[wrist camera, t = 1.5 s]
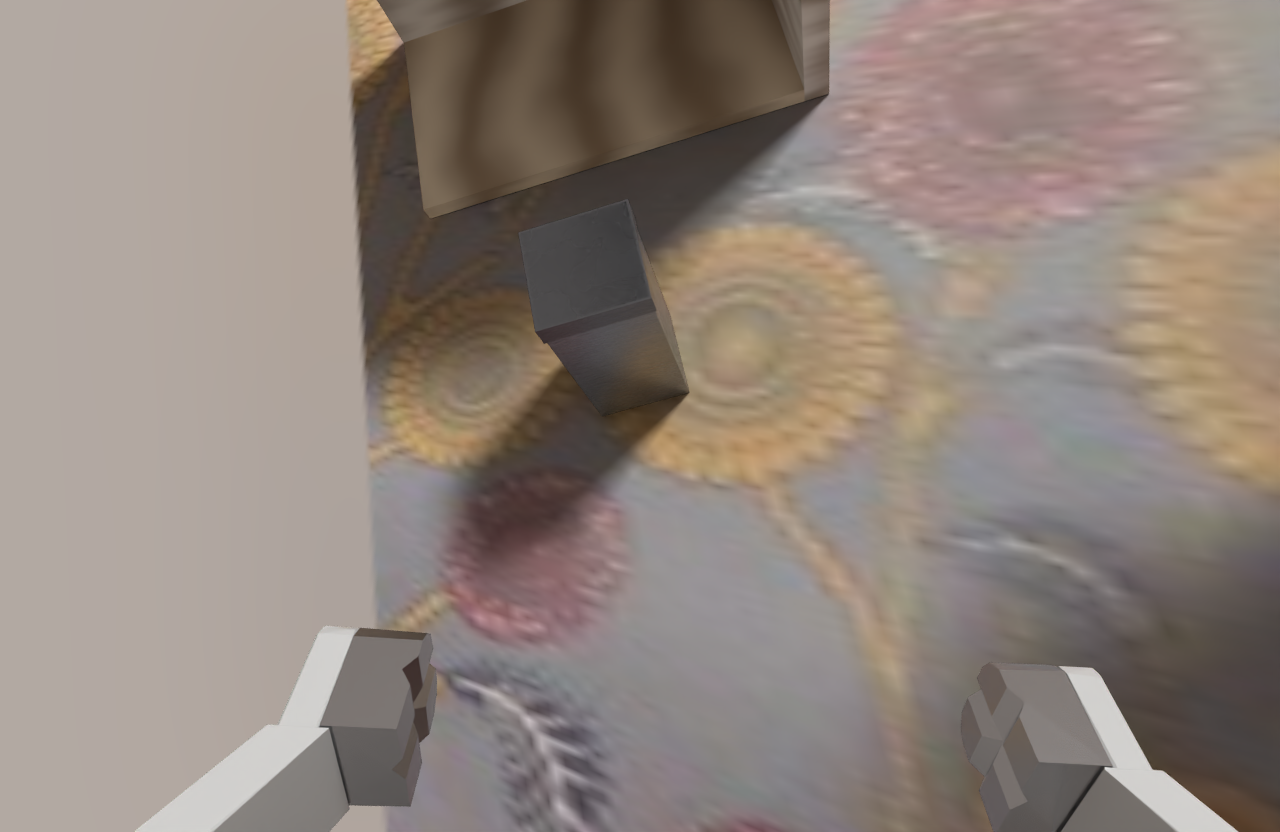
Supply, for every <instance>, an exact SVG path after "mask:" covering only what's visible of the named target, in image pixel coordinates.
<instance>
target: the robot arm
mask: <svg viewBox="0 0 1280 832" xmlns="http://www.w3.org/2000/svg"><path fill="white" fill-rule="evenodd" d="M432 651H433V645H432V639H431V634H429V633H417V632H405V631H393V630H380V629H368V628H354V627H338V626H324V627H323V628H322V630H321V631H320V632H319V633H318V634H317V636H316V638H315V640H314V642H313V645H312V647H311V649H310V652H309V654H308V656H307V658H306V661H305V663H304V665H303V668H302V670H301V672H300V675H299V677H298V679H297V681H296V684H295V686H294V688H293V690H292V693H291V695H290V697H289V700H288V702H287V704H286V706H285V709H284V711H283V713H282V716H281V718H280V720H279V722H278V725H266V726H265V727H263V728H262V729H261V730H260V731H258V732H257V733H256V734H255V735H253V736H252V737H251V738H250V739H248V740H247V741H246V742H245V743H244V744H242V745H241V746H240V747H238V749H236V750H235V751H233V752H232V753H231V754H230V755H229V756H227V757H226V758H225V759H224V760H222V761H221V762H220V763H219V764H217V765H216V766H215V767H214V768H212V769H211V770H210V771H209V772H207V773H206V774H205V775H204V776H202V777H201V778H200V779H199V780H198V781H196V782H195V783H194V784H192V785H191V786H190V787H189V788H188V789H186V790H185V791H184V792H183V793H181V794H180V795H179V796H178V797H176V798H175V799H174V800H173V801H171V802H170V803H169V804H168V805H166V806H165V807H164V808H163V809H161V810H160V811H159V812H158V813H156V814H155V815H154V816H153V817H152V818H150V819H149V820H148V821H147V822H145V823H144V824H143V825H142V826H140V827H139V828H138V829H137V830H136V831H134V832H330V831H331V829H332V828H333V827H334V826H335V825H336V824H337V823H338V822H339V820H340V819H341V818H342V817H343V816H344V815H345V813H347V811H348V810H349V805H360V806H361V805H362V806H408V807H410V806H411V803H412V799H413V795H414V791H415V787H416V783H417V780H418V776H419V772H420V768H421V764H422V759H421V752H420V744H419V743H420V742H421V741H422V740H423V739H424V738H425V737H426V736H428V735H429V733H430V729H431V725H432V721H433V717H434V710H435V703H436V696H437V676H436V669H435V668H434V667H433V666H432V665H431V664H430V659H431V655H432ZM977 679H978V682H979V685H980V687H981V689H980V690H979V691H977V692H976V693H974V694H972V695H971V696H969V697H968V698H967V701H966V703H965V706H964V708H963V710H962V720H961V733H962V739H963V745H964V748H965V751H966V754H967V757H968V760H969V762H970V763H971V764H972V765H973V766H974V767H975V768H976V769H977V770H978V771H979V772H980V773H981V774H982V775H983V776H984V779H983V782H982V784H981V787H980V789H979V792H980V795H981V798H982V800H983V803H984V806H985V809H986V812H987V815H988V817H989V820H990V823H991V826H992V829H993V831H994V832H1238V831H1237V830H1236V829H1234V828H1233V827H1232V826H1231V825H1229V824H1228V823H1227V822H1226V821H1224V820H1223V819H1222V818H1221V817H1220V816H1218V815H1217V814H1216V813H1215V812H1213V811H1212V810H1211V809H1210V808H1208V807H1207V806H1206V805H1205V804H1203V803H1202V802H1201V801H1200V800H1199V799H1197V798H1196V797H1195V796H1194V795H1192V794H1191V793H1190V792H1189V791H1187V790H1186V789H1185V788H1184V787H1183V786H1181V785H1180V784H1179V783H1178V782H1176V781H1175V780H1174V779H1173V778H1171V777H1170V776H1169V775H1168V774H1167V773H1165V772H1164V771H1161V770H1153V769H1152V768H1151V766H1150V764H1149V762H1148V760H1147V759H1146V757H1145V755H1144V753H1143V751H1142V750H1141V748H1140V746H1139V744H1138V742H1137V741H1136V739H1135V737H1134V735H1133V733H1132V732H1131V730H1130V728H1129V726H1128V724H1127V723H1126V721H1125V719H1124V717H1123V715H1122V713H1121V712H1120V710H1119V708H1118V706H1117V704H1116V703H1115V701H1114V699H1113V697H1112V695H1111V694H1110V692H1109V690H1108V688H1107V686H1106V685H1105V683H1104V681H1103V679H1102V677H1101V676H1100V674H1099V673H1098V672H1096V671H1095V670H1094V669H1093V668H1085V667H1066V666H1053V665H1039V664H1014V663H988V664H986V665H985V666H983V667H982V669H981V671H980V673H979V675H978V677H977Z"/></svg>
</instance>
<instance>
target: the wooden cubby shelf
mask: <svg viewBox="0 0 1280 832" xmlns="http://www.w3.org/2000/svg"><path fill="white" fill-rule="evenodd" d="M377 1H378V2H379V4H380V6H381V7H382V9H383V10H384V12H385V14H386V15H387V17H388V18H389V20H390V22H391V23H392V25H393V26H394V28H395V29H396V31H397V33H398V34H399V36H400V37H401V39H402V41H403V42H404V49H405V57H406V66H407V74H408V83H409V91H410V100H411V108H412V117H413V125H414V134H415V142H416V151H417V159H418V168H419V177H420V185H421V194H422V202H423V210H424V211H425V212H426V214H427V215H428V216H429V217H430V219H431V218H434V217H437V216H441V215H444V214H447V213H450V212H453V211H457V210H460V209H463V208H466V207H469V206H473V205H476V204H479V203H482V202H485V201H488V200H492V199H495V198H498V197H501V196H504V195H508V194H511V193H514V192H517V191H520V190H524V189H527V188H530V187H533V186H536V185H540V184H543V183H546V182H549V181H552V180H555V179H559V178H562V177H565V176H568V175H571V174H575V173H578V172H581V171H584V170H587V169H591V168H594V167H597V166H600V165H603V164H606V163H610V162H613V161H616V160H619V159H622V158H626V157H629V156H632V155H635V154H638V153H642V152H645V151H648V150H651V149H654V148H657V147H661V146H664V145H667V144H670V143H673V142H677V141H680V140H683V139H686V138H689V137H693V136H696V135H699V134H702V133H705V132H708V131H712V130H715V129H718V128H721V127H724V126H728V125H731V124H734V123H737V122H740V121H744V120H747V119H750V118H753V117H756V116H759V115H763V114H766V113H769V112H772V111H775V110H779V109H782V108H785V107H788V106H791V105H795V104H798V103H801V102H804V101H807V100H810V99H814V98H817V97H820V96H823V95H826V94H829V22H830V0H377Z"/></svg>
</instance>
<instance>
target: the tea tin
mask: <svg viewBox="0 0 1280 832" xmlns="http://www.w3.org/2000/svg"><path fill="white" fill-rule="evenodd" d="M518 234H519V239H520V245H521V251H522V257H523V263H524V269H525V275H526V281H527V286H528V292H529V298H530V304H531V310H532V316H533V322H534V328H535V332H536V333H537V335H538V336H539V337H540V339H541V340H542V341H543V343H544V344H545V343H548V344H549V346H550V347H551V348H552V350H553V351H554V352H555V354H556V355H557V356H558V358H559V359H560V361H561V362H562V363H563V365H564V366H565V367H566V369H567V370H568V371H569V373H570V374H571V375H572V377H573V378H574V379H575V381H576V382H577V383H578V385H579V386H580V387H581V389H582V390H583V391H584V393H585V394H586V395H587V397H588V398H589V399H590V401H591V402H592V403H593V405H594V406H595V407H596V409H597V410H598V411H599V413H600V414H601V415H602V416H605V415H609V414H612V413H616V412H620V411H623V410H627V409H631V408H634V407H638V406H642V405H645V404H649V403H653V402H656V401H660V400H664V399H667V398H671V397H675V396H678V395H682V394H686V393H689V389H688V385H687V381H686V376H685V372H684V368H683V364H682V360H681V356H680V352H679V348H678V344H677V340H676V336H675V332H674V328H673V324H672V320H671V316H670V312H669V310H668V307H667V305H666V302H665V300H664V297H663V294H662V292H661V289H660V287H659V284H658V282H657V279H656V276H655V274H654V271H653V269H652V266H651V263H650V261H649V258H648V256H647V253H646V251H645V248H644V245H643V243H642V240H641V238H640V235H639V233H638V229H637V225H636V221H635V216H634V213H633V210H632V208H631V205H630V203H629V200H628V199H626V200H623V201H620V202H616V203H613V204H610V205H606V206H603V207H600V208H597V209H593V210H590V211H587V212H584V213H580V214H577V215H574V216H571V217H567V218H564V219H561V220H558V221H554V222H551V223H548V224H545V225H541V226H538V227H535V228H532V229H528V230H525V231H522V232H519V233H518Z"/></svg>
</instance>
